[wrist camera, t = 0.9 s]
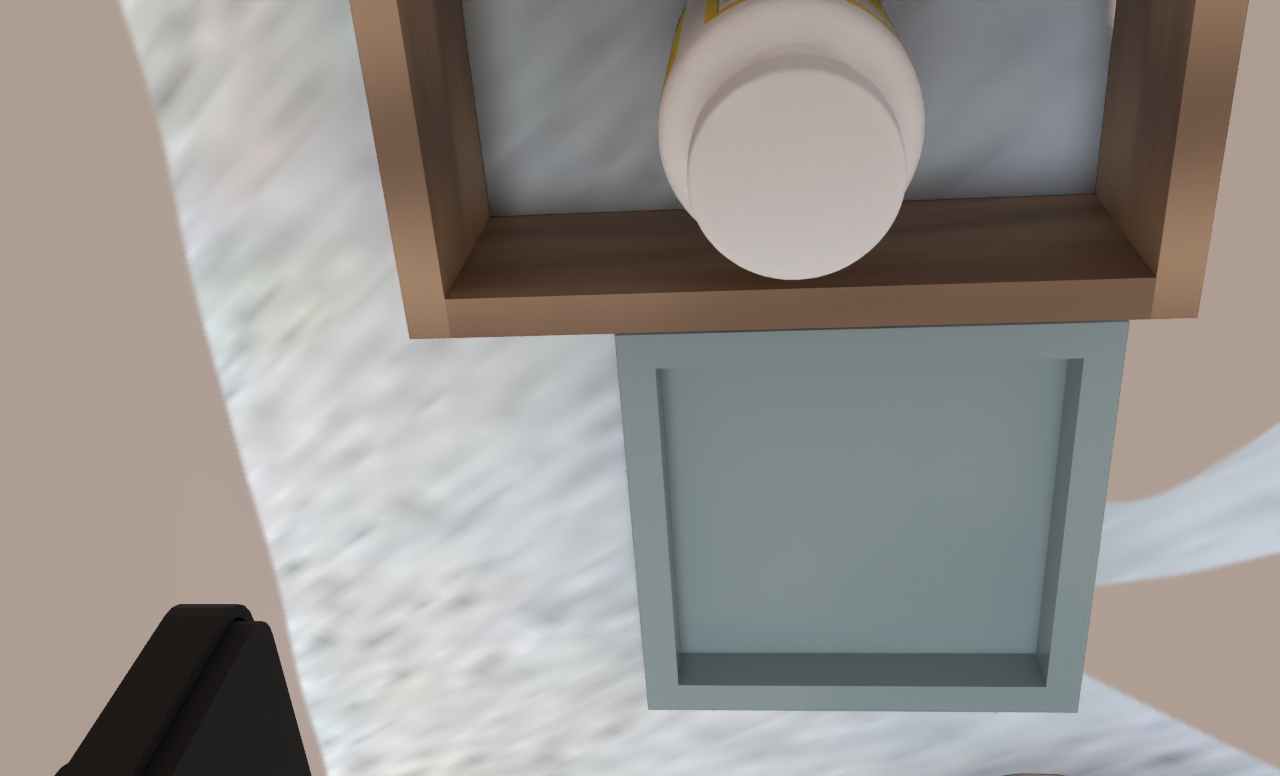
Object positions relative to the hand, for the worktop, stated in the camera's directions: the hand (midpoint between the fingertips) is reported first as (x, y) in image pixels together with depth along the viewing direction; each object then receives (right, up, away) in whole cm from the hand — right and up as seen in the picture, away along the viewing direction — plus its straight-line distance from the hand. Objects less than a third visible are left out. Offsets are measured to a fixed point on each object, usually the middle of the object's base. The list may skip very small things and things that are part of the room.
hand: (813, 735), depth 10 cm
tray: (+5, 0, +26) cm, 26 cm away
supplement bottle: (+2, +11, +20) cm, 23 cm away
